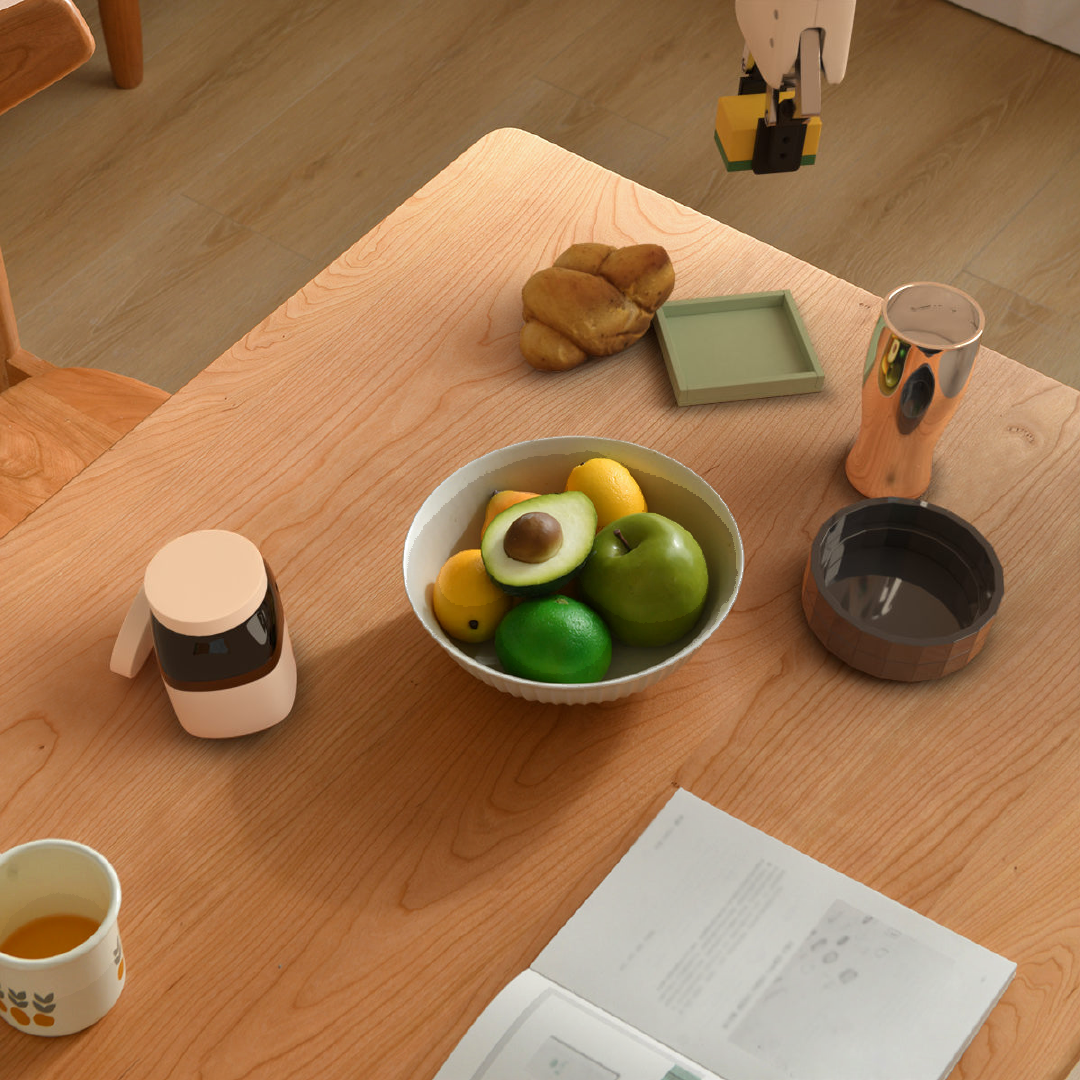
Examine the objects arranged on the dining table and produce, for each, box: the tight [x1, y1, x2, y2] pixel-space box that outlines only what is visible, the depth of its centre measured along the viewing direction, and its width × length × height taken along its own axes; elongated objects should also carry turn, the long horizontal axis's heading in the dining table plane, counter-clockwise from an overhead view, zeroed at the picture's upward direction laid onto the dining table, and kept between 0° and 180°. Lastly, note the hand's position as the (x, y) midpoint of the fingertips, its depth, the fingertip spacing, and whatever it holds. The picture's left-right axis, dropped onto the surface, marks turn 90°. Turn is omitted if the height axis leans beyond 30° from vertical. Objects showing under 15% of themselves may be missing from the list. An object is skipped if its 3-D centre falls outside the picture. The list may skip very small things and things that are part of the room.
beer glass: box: [844, 281, 986, 499], centre depth 92 cm, size 7×7×15 cm
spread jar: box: [109, 528, 298, 740], centre depth 82 cm, size 12×11×12 cm
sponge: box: [713, 90, 823, 173], centre depth 90 cm, size 6×4×3 cm, turn 99°
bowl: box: [801, 496, 1005, 683], centre depth 89 cm, size 12×12×4 cm
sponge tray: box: [651, 288, 826, 407], centre depth 106 cm, size 11×10×2 cm
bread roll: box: [518, 242, 676, 373], centre depth 105 cm, size 13×10×8 cm
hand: (766, 147), depth 91 cm, fingers closed on sponge, 4 cm apart
